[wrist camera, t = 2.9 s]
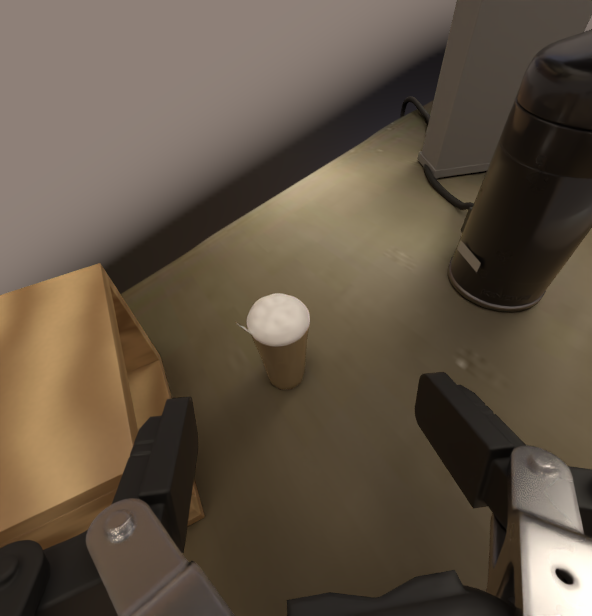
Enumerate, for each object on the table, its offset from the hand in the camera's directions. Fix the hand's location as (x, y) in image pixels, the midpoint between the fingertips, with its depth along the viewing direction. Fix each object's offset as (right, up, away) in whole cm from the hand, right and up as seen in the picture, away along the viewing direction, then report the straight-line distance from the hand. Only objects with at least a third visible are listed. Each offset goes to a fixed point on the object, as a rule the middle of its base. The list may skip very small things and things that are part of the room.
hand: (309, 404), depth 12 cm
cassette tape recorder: (+26, +25, +41) cm, 55 cm away
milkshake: (-2, -3, +19) cm, 20 cm away
